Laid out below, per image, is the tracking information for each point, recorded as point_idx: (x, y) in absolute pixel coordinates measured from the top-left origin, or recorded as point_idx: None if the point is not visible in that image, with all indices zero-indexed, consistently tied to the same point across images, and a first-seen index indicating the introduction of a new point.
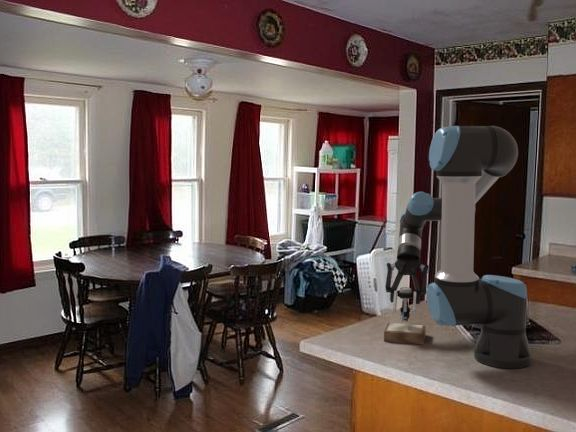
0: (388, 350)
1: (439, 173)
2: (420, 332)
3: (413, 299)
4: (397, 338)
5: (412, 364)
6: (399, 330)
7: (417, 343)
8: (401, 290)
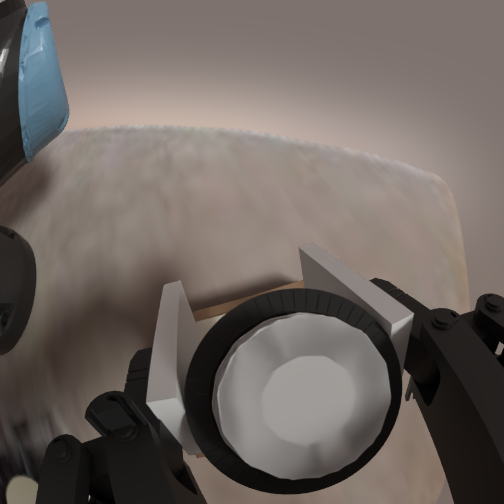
0: (254, 212)
1: None
2: None
3: (175, 329)
4: None
5: (161, 159)
6: None
7: None
8: (334, 322)
